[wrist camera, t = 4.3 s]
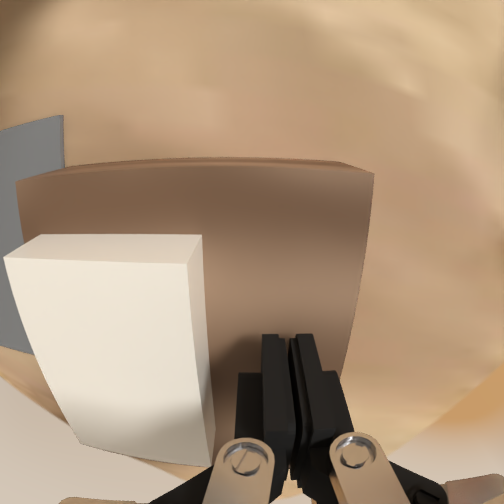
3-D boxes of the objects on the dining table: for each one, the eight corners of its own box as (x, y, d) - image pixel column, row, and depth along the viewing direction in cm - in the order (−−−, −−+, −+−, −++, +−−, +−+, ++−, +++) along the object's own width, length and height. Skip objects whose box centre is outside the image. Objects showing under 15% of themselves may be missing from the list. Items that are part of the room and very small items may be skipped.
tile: (40, 234, 9) (3, 257, 7) (201, 234, 9) (186, 264, 7) (95, 411, 12) (80, 443, 10) (215, 428, 12) (211, 467, 10)
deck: (69, 166, 12) (15, 181, 8) (339, 161, 12) (374, 173, 8) (120, 404, 18) (102, 449, 14) (305, 416, 18) (312, 467, 14)
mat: (-47, 148, 11) (-50, 149, 11) (63, 115, 11) (59, 114, 11) (-4, 341, 16) (-6, 343, 16) (103, 365, 16) (101, 368, 16)
